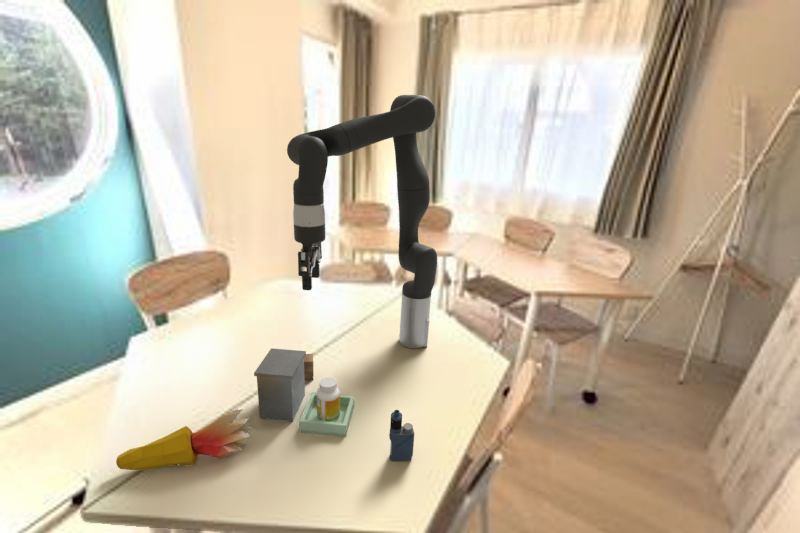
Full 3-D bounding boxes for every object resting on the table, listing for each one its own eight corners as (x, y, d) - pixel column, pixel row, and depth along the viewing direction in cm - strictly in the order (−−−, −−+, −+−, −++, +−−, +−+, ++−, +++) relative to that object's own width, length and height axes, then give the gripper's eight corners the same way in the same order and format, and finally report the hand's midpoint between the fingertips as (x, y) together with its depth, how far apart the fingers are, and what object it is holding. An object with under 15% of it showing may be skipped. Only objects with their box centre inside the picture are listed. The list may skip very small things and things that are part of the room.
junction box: (306, 394, 107) (305, 351, 103) (294, 422, 97) (292, 376, 92) (273, 391, 107) (271, 348, 103) (257, 419, 97) (253, 372, 93)
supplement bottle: (343, 411, 100) (343, 378, 97) (333, 426, 95) (333, 391, 92) (323, 406, 102) (323, 373, 98) (313, 420, 97) (312, 385, 93)
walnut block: (313, 372, 116) (313, 353, 114) (313, 380, 113) (313, 361, 111) (298, 373, 116) (298, 354, 114) (298, 381, 112) (297, 362, 110)
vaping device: (387, 453, 89) (390, 407, 85) (411, 452, 90) (415, 406, 86) (388, 462, 87) (391, 415, 83) (413, 461, 87) (416, 415, 83)
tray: (354, 406, 103) (354, 396, 102) (346, 436, 93) (346, 425, 92) (312, 402, 104) (312, 392, 103) (300, 432, 94) (299, 421, 93)
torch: (128, 484, 83) (256, 439, 92) (116, 499, 75) (257, 448, 84) (120, 443, 83) (248, 403, 92) (107, 454, 76) (248, 409, 85)
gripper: (318, 229, 93) (319, 295, 98) (330, 215, 106) (331, 274, 112) (285, 228, 93) (288, 293, 99) (301, 214, 107) (304, 272, 112)
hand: (311, 283), depth 105 cm, fingers open, 8 cm apart
